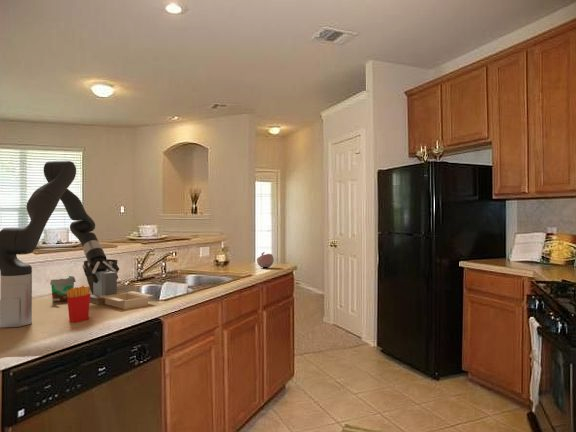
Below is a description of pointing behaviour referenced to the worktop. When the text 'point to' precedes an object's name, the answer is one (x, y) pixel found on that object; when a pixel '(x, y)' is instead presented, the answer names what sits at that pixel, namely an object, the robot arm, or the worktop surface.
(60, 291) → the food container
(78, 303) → the french fries
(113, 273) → the slim box
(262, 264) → the apple
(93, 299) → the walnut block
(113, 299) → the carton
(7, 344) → the worktop surface
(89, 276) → the plant pot
